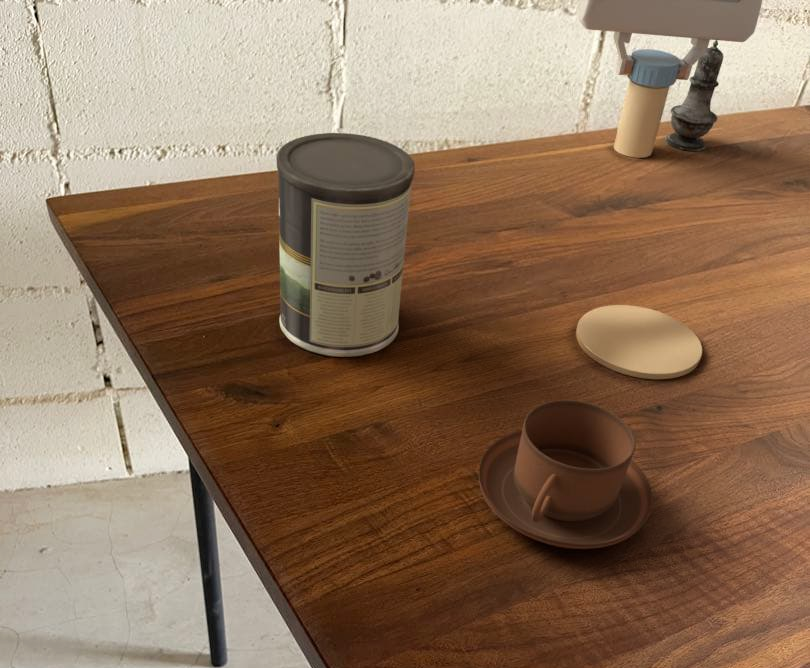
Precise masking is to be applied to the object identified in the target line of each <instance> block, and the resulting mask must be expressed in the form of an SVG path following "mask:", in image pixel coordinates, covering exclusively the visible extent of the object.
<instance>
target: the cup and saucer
mask: <svg viewBox="0 0 810 668" xmlns="http://www.w3.org/2000/svg"><path fill="white" fill-rule="evenodd" d="M523 422H524V423H523V425H522V430H519V431H518V430H517V431H515V432H512V433H509V434H506V435H504V436H503V437H501V438H499V439H498V440H496V441H495V442H493V443H492V444H491V445H490V446H489V447H488V448H487V450H485V452H484V453H483V455H482V458H481V459H480V462H479V466H478V483H479V484H478V485H479V488H480V491H481V494H482V497H483V498H484V501H485V502H486V504H487V505H488V507H489V508H490V510H492V512H493V513H494V514H495V516H497V517H498V518H499V519H500V520H501V521H502V522H503V523H505V524H506V525H508V527H510V528H512V529H513V530H514V531H516V532H518V533H520V534H522V535H524V536H525V537H527V538H530V539H532V540H534V541H537V542H540V543H543V544H546V545H549V546H552V547H558V548H564V549H573V550H586V549H587V550H588V549H599V548H604V547H605V548H606V547H611V546H612V545H617V544H619V543H621V542H623V541H626V540H627V539H628V538H630V537H632V536H633V535H635V534H636V533H637V532H638V531H639V530H640V529H641V528H642V527H643V525H644V524H645V523H646V522H647V520H648V518H649V516H650V514H651V512H652V509H653V505H654V503H653V502H654V496H653V490H652V487H651V484H650V482H649V479H648V478H647V475H646V474H645V473H644V471H643V470H642V468H641V467H640V466H639V465H638V464H637V463H636V462H635V460H633V457H634V456H633V455H634V453H635V449H636V438H635V435H634V433H633V430H631V428H630V426H629V425H628V424H627V423H626V422H625V421H624V420H623V419H622V418H621V417H620V416H618V415H617V414H615V413H614V412H612V411H611V410H609V409H606V408H605V407H602V406H600V405H597V404H594V403H591V402H587V401H583V400H575V399H558V400H550V401H547V402H544V403H541V404H539V405H537V406H535V407H534V408H532V409H531V410H530V411H529V412H528V413H527V415H526V416H525V419H524V421H523Z"/></svg>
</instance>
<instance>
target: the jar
mask: <svg viewBox="0 0 810 668" xmlns="http://www.w3.org/2000/svg"><path fill="white" fill-rule="evenodd" d="M627 83H628V84H627V87H626V93H625V98H624V101H623V105H622V110H621V113H620V118H619V122H618V126H617V130H616V135H615V138H614V143H613V149H614V151H615V152H616V153H618V154H620V155H623V156H625V157H630V158H635V159H638V158H648V157H650V156H651V155H652V154H653V151H654V148H655V143H656V141H657V136H658V132H659V129H660V125H661V122H662V117H663V114H664V110H665V107H666V103H667V99H668V95H669V92H670V88H671V86H669V87H650V86H645V85H641V84H638V83H635V82H633V81H631V80H630V79H629V78H628V82H627Z"/></svg>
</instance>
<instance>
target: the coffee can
mask: <svg viewBox="0 0 810 668" xmlns="http://www.w3.org/2000/svg"><path fill="white" fill-rule="evenodd" d="M276 169H277V178H278V183H277V184H278V230H279V231H278V233H279V234H278V235H279V236H278V238H279V246H278V247H279V305H280V306H279V314H280V315H279V319H278V320H279V327H280V330H281V332H282V333H283V334H284V336H285V337H286V338H287V339H288V340H289V341H290V342H291V343H293V344H294V345H296V346H297V347H299V348H301V349H303V350H305V351H308V352H310V353H313V354H318V355H321V356H326V357H334V358H352V357H361V356H365V355H369V354H373V353H375V352H376V353H377V352H379V351H381V350H382V349H384V348H386V347H387V346H389V345H390V344H391V343H392V342H393V341H394V340H395V339H396V337H397V335H398V332H399V327H400V326H399V317H400V316H399V315H400V303H401V296H402V295H401V294H402V284H403V273H404V266H405V254H406V243H407V235H408V233H407V232H408V222H409V221H408V220H409V213H410V203H411V202H410V201H411V191H412V182H413V179H414V177H415V169H416V166H415V162H414V160H413V158H412V157H411V156H410V154H408V153H407V152H406V151H405V150H403V149H402V148H400V147H399V146H397V145H395V144H393V143H390V142H388V141H385V140H383V139H380V138H376V137H373V136H369V135H363V134H356V133H347V132H325V133H315V134H309V135H304V136H301V137H297V138H295V139H292V140H289V141H288V142H286V143H285V144H283V145H282V146H281V147H280V148H279V149H278V151H277V153H276Z"/></svg>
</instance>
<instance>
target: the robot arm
mask: <svg viewBox="0 0 810 668" xmlns="http://www.w3.org/2000/svg"><path fill="white" fill-rule="evenodd" d="M762 3H763V0H578V1H577V6H576V16H577V18H578V20H579V22H580V24H581V25H582V27H583V28H584V29H586V30H588V31H599V32H601V31H602V32H612V33H613V32H614V33H613V42H614V45H615V49H616V52H617V55H618V57H617V61H616V66H615V73H616V75H618V76H627V75H629V76H630V75H631V73H632V69H631V68H632V67H633V65H634V61H635V60H634V59H633V58H632V57H631V55H632V54H631V55H630V54H628V53H627V49H626V45H625V44H630V42H631V38H632V35H633V34H636V35H637V34H638V35H649V36H662V37H675V38H685V39H687V38H688V39H690V44H691V45H692V47H691V48H690V49H689V50H688V52H687V53H686V54H685V56H683V58H682V59H681V58H679V59H680V65H679V67H680V68H679V72H678V75H677V79H676V80H679V81H681V80H682V81H688V80H689V79H690V75H691V71H692V69H693V66H694V65H695V64H697V63H698V60H699V58H700V57H701V56H702V55H703V54H704V53H705V52H706V50H707V48H709V45H710V41H711V40H712V41H716V40H717V41H720V42H721V41H722V42H735V43H745V42H746V41H747V40H749V38H751V37H752V36H753V34H754V33H755V31H756V28H757V24H758V21H759V16H760V13H761V10H762V9H761V8H762Z"/></svg>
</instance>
